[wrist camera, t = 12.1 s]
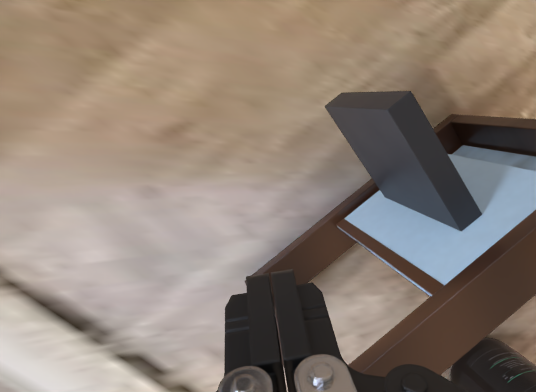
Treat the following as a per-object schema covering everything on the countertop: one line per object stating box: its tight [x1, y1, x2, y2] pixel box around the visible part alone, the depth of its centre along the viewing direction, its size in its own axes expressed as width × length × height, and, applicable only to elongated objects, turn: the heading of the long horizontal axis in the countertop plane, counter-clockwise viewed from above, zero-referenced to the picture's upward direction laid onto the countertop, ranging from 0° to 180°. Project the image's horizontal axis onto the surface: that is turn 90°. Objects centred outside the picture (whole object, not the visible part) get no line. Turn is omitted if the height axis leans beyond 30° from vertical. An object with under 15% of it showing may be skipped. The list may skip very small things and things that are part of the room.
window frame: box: [245, 114, 536, 377], centre depth 29 cm, size 22×3×16 cm, turn 126°
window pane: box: [325, 91, 536, 297], centre depth 27 cm, size 10×9×13 cm
